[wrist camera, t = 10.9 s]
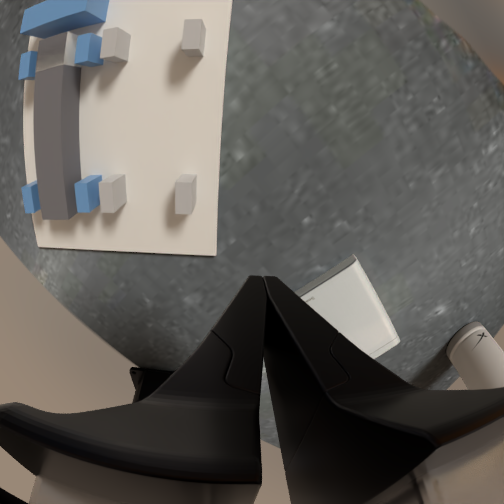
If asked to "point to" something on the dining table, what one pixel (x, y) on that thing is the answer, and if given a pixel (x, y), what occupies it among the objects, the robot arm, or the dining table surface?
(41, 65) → the dark grey bar
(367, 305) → the hard drive
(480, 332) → the travel mug
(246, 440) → the robot arm
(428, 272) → the dining table surface
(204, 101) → the board
